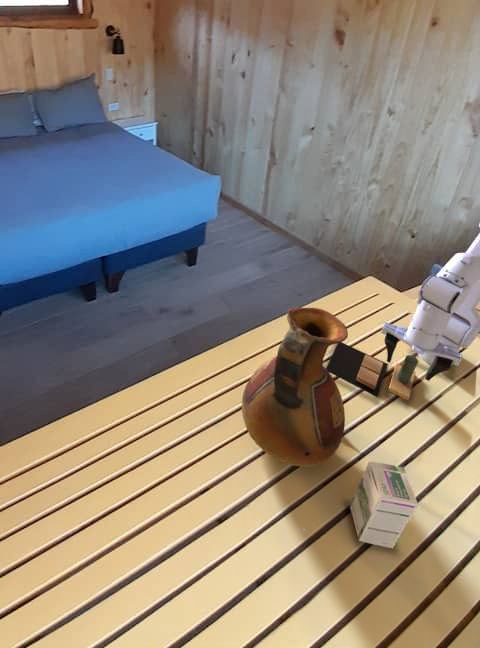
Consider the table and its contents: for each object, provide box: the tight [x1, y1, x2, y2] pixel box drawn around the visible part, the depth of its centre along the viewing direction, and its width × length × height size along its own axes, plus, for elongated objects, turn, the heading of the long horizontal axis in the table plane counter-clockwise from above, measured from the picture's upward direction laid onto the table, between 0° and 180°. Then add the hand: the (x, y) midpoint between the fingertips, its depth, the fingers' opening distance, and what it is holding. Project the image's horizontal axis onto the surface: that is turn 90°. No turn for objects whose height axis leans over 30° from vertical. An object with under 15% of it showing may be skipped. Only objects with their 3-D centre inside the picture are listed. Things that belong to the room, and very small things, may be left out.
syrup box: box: [349, 461, 419, 549], centre depth 69 cm, size 6×6×14 cm
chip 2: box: [356, 366, 379, 389], centre depth 97 cm, size 4×4×1 cm
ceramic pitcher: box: [241, 306, 349, 467], centre depth 81 cm, size 20×20×30 cm
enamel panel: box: [325, 342, 389, 398], centre depth 100 cm, size 12×12×2 cm
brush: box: [387, 354, 419, 401], centre depth 94 cm, size 9×4×10 cm, turn 139°
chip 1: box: [361, 354, 384, 375], centre depth 100 cm, size 4×4×1 cm
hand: (407, 368), depth 94 cm, fingers open, 7 cm apart
